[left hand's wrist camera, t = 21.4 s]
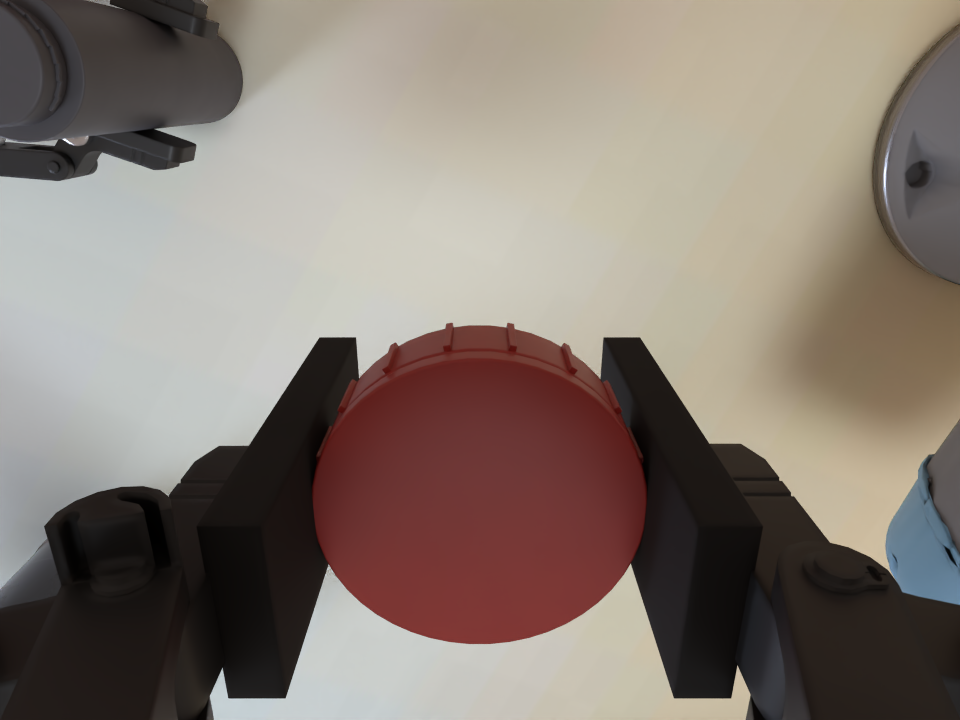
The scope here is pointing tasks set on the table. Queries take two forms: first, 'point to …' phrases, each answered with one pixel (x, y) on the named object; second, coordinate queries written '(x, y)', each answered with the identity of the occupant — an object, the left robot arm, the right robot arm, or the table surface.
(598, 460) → the lid
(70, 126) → the jar
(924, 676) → the left robot arm
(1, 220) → the table surface
